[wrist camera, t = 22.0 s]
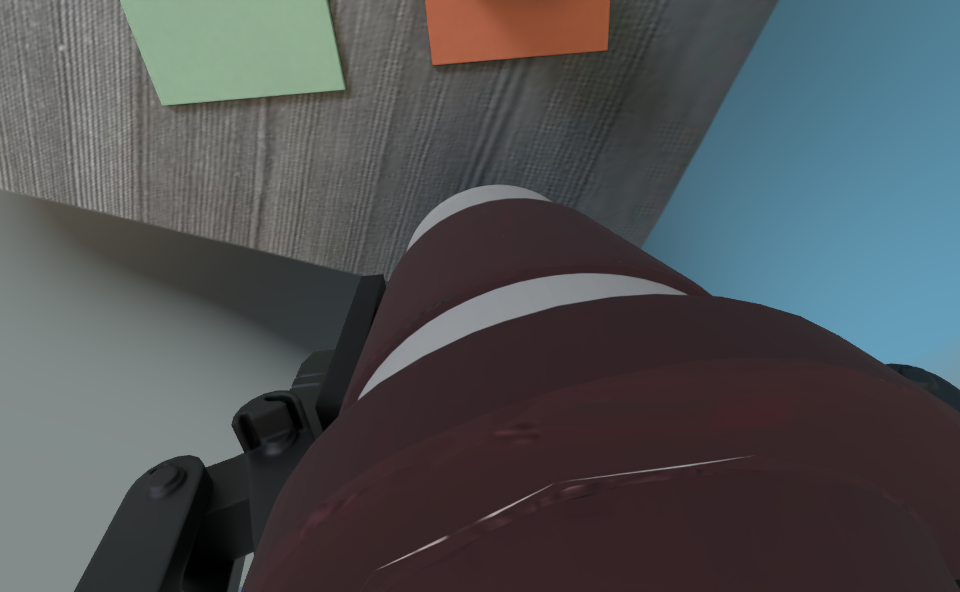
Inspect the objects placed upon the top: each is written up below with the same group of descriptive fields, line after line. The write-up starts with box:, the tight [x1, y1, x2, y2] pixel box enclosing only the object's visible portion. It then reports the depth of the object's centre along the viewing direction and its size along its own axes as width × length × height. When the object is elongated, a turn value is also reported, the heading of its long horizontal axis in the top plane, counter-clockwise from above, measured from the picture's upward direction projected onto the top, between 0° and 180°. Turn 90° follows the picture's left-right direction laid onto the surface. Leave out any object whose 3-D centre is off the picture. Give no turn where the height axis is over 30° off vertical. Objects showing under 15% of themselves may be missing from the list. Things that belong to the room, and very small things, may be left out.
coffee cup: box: [241, 185, 960, 592], centre depth 11 cm, size 10×10×15 cm
